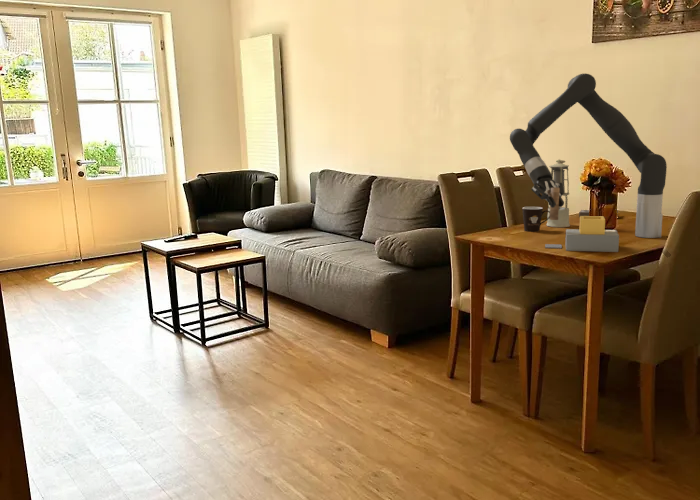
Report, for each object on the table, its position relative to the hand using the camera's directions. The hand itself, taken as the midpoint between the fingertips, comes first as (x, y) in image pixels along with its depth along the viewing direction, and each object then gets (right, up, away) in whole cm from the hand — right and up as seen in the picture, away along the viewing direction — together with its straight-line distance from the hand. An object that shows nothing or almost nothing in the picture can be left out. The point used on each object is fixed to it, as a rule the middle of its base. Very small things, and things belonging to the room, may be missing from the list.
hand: (558, 205), depth 239 cm
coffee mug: (+3, -8, +40) cm, 41 cm away
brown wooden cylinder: (-1, -5, +3) cm, 6 cm away
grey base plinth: (+13, -16, 0) cm, 20 cm away
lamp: (+18, -5, +52) cm, 55 cm away
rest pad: (0, -15, +5) cm, 16 cm away
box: (+43, -1, +72) cm, 84 cm away
